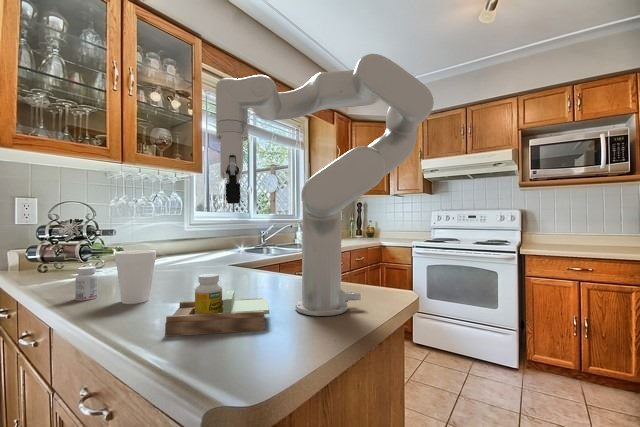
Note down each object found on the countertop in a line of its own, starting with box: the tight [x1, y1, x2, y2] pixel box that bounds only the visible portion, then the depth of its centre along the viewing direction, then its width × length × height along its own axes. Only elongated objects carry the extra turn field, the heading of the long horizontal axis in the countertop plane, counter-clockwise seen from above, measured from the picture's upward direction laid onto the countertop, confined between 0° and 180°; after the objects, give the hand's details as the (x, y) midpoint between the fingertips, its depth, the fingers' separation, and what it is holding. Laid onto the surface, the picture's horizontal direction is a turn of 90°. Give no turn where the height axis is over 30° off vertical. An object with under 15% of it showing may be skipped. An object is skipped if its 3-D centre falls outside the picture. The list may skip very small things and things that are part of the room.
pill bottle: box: [74, 266, 98, 301], centre depth 85 cm, size 5×5×8 cm
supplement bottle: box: [194, 273, 223, 314], centre depth 65 cm, size 5×5×10 cm
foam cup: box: [114, 249, 157, 305], centre depth 83 cm, size 10×9×13 cm
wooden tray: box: [164, 297, 265, 337], centre depth 65 cm, size 18×12×3 cm, turn 102°
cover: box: [222, 289, 270, 315], centre depth 66 cm, size 9×9×3 cm
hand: (233, 202), depth 76 cm, fingers open, 9 cm apart
